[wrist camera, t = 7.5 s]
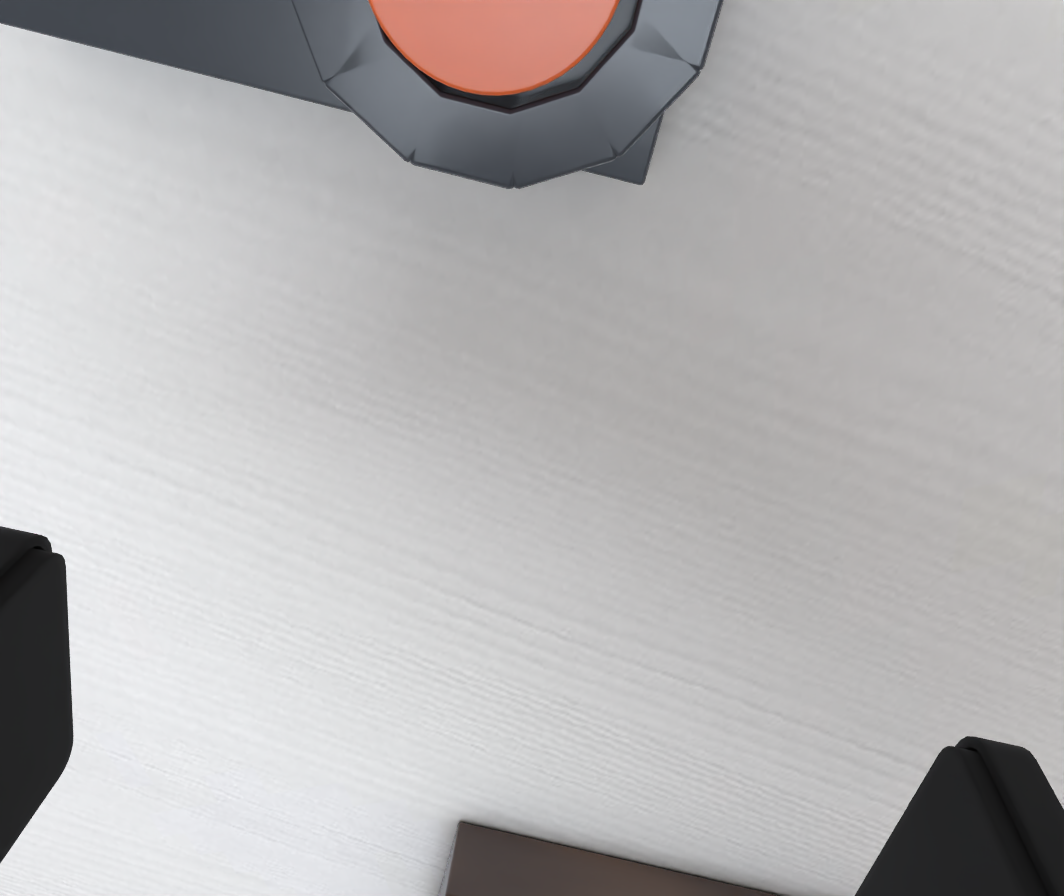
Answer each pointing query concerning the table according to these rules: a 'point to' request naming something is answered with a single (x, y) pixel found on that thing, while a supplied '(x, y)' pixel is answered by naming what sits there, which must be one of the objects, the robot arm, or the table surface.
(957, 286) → the table surface
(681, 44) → the button box
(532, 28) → the button
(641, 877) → the plate
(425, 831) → the table surface
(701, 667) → the table surface
